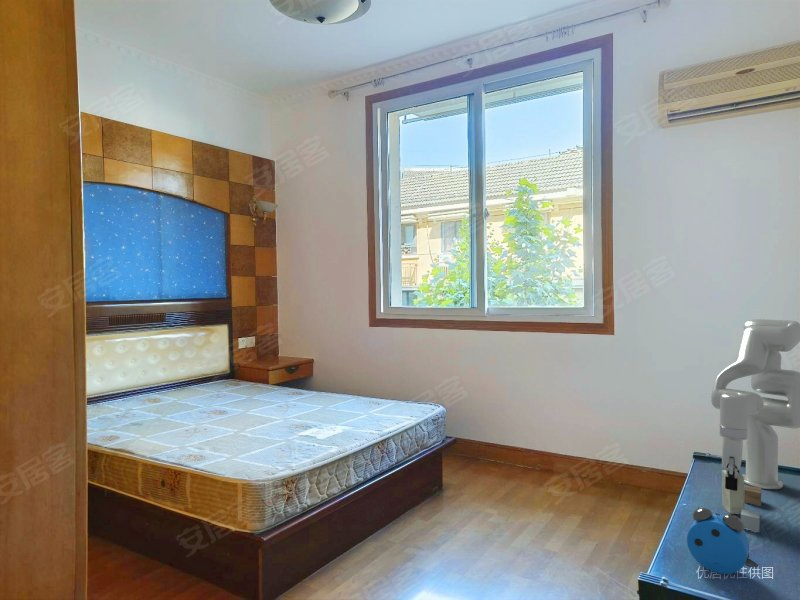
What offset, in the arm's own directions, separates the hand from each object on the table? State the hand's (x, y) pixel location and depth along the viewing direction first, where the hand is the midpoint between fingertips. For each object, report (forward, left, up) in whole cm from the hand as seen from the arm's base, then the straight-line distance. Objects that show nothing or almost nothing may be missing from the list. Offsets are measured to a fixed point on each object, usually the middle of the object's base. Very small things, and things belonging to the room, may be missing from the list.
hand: (732, 485), depth 163 cm
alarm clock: (+41, -1, -9) cm, 42 cm away
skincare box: (-1, 0, -9) cm, 9 cm away
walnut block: (-12, +5, -9) cm, 15 cm away
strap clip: (+31, +4, -9) cm, 33 cm away
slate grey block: (+10, +5, -9) cm, 14 cm away
